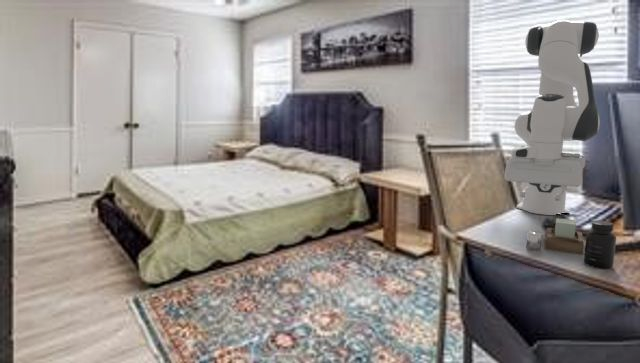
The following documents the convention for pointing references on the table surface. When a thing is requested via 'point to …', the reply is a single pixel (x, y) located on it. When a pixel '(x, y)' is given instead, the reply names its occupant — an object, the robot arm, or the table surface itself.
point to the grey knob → (534, 240)
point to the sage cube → (565, 228)
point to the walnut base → (564, 242)
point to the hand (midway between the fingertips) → (539, 198)
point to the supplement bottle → (600, 245)
